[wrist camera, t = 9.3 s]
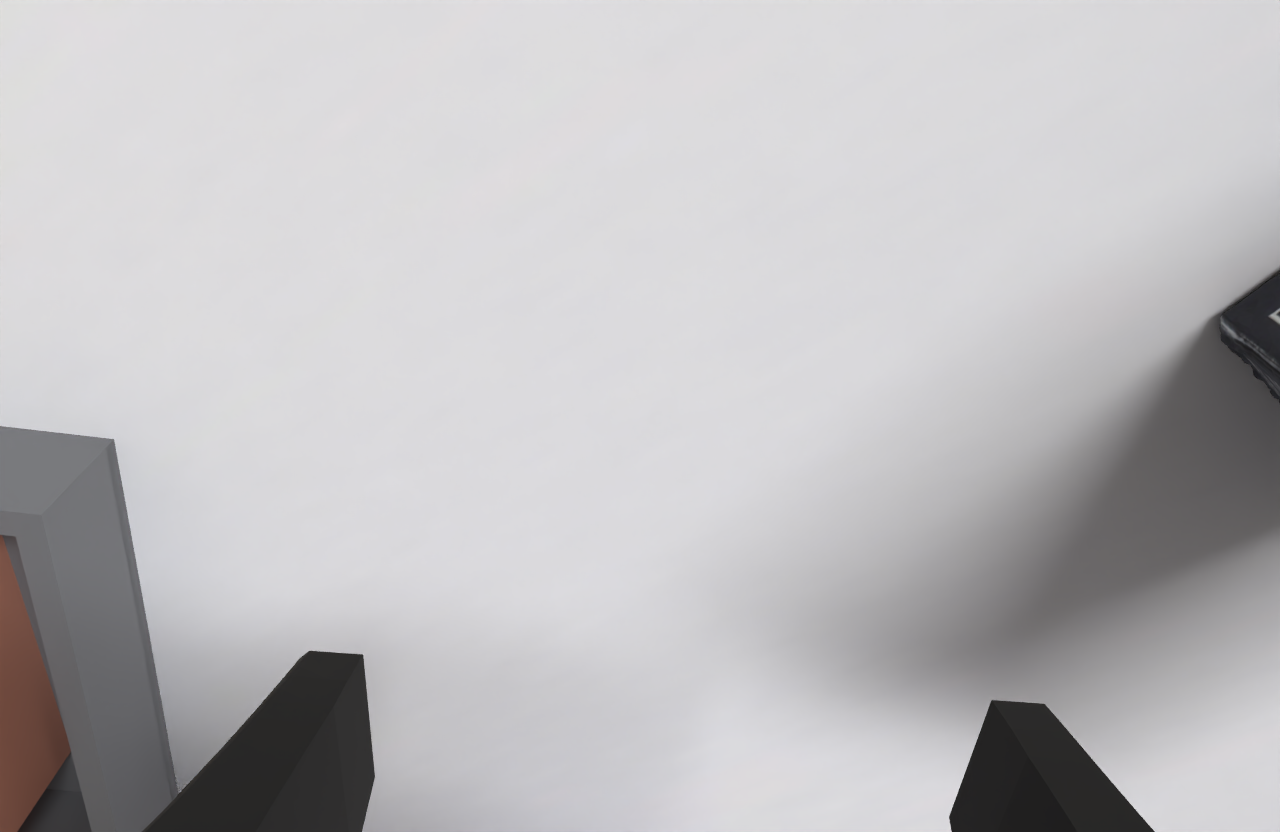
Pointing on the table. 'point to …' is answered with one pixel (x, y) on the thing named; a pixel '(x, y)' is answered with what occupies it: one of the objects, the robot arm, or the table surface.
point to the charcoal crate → (86, 630)
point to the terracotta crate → (24, 709)
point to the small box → (1257, 332)
